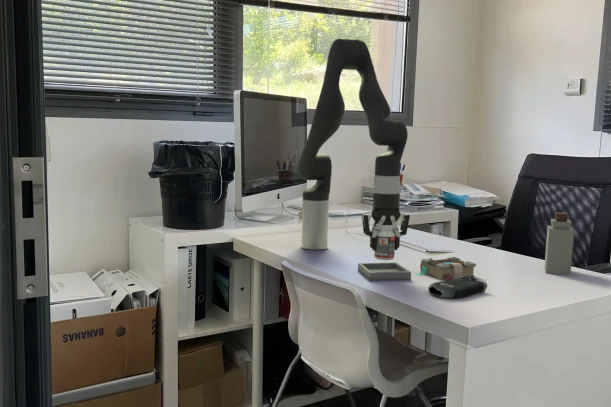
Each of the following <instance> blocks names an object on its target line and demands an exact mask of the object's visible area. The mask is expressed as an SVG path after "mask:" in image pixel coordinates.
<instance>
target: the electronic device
mask: <svg viewBox="0 0 611 407" xmlns="http://www.w3.org/2000/svg"><path fill="white" fill-rule="evenodd" d="M487 288H488V283H487V282H485V281H481V280H477V278H475V277H464V276H461V277H460V278H455V280H440V281H437V282H433V283H430V284H429V286H428V287H427V289H428V292H429V296H433V297H437V298H441V299H453V300H454V299H460V298H464V297H467V296H472V295H474V294H478V293H479V292H480V293H485V292H486V290H487ZM438 291H439V292H438ZM433 292H434V293H435V292H438V295H435V294H433Z"/></svg>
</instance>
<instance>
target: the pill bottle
mask: <svg viewBox="0 0 611 407" xmlns="http://www.w3.org/2000/svg"><path fill="white" fill-rule="evenodd" d="M393 229H394V228H393V225H382V226H381V228H380V230H379V231H378V233H377V235H376V238H377V245H376V250H375V251H374V254H373V255H374V259H376V260H378V261H379V260H381V261H391V260H394V259H395V253H396V252H395V251H396V250H395V233H394V232H393Z"/></svg>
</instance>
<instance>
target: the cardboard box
mask: <svg viewBox="0 0 611 407" xmlns="http://www.w3.org/2000/svg"><path fill="white" fill-rule="evenodd" d="M419 267H420V268H419V269H420V272H419V273H416V276H420V277H422V276H426V275H427V276H431V277H433V278H435V279H437V280H440V281H452V280H456V279H460V277H461V276H464V277H469V278H471V277H473V278H475V275H474V269H475V267H477V264H476V263H475V262H471V261H463V260H461V259H460V258H459V257H456V256H451V257H447V258H442V259H433V258H422V259H421V261H420V265H419Z"/></svg>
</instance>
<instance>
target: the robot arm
mask: <svg viewBox="0 0 611 407" xmlns="http://www.w3.org/2000/svg"><path fill="white" fill-rule="evenodd" d="M327 55H328V56H327V60H326V66H325V71H324V72H325V73H324V77H323V81H322V82H323V83H322V85H321V89H320V94H319V97H318V100H317V103H316V106H315V110H314V114H313V118H312V122H311V125H310V126H311V127H310V130H309V133H308V135H307V136H308V137H307V139H306V142H305V144H304V147H303V149H302V151H301V155H300V158H299V161H298V167H297V171H298V172H297V173H298V176H299V178H300V179H302V180H305V181H316V183H315V184H314V185H313V186H311V187H310V188H307V189H305V190H304V191H303V192H302V201H301V202H302V204H301V205H302V207H301V208H302V209H301V211H302V213H301V215H302V216H301V248H302V249H304V250H305V249H306V250H310V251H311V250H313V251H315V250H317V251H318V250H319V251H320V250H326V249H328V247H329V246H328V240H329V211H330V210H329V205H330V204H329V202H330V193H331V185H332V184H331V181H332V170H333V166H332V165H333V164H332V159H331V156H330V155H329V154H327V153H319V151H320V149H321V148H322V146H323V145H324V144H326V142H327V141H328V140H329V139H331V137H333V136H334V134H335V133H336V132H338V130H339V128H340V126H341V124H342V120H343V119H344V118H343V117H344V114H345V109H346V105H345V101H344V97H343V94H342V91H341V87H340V79H341V75H342V73H343V71H344V70H347V71H357V73H358V74H359V76H360V79H361V81H360V86H359V90H358V98H359V102H360V105H361V107H362V109H363V112H364V113H365V116H366V119H367V125H368V132H369V137H370V140H371V141H372V142H373V143H374V144H375V145H377V146H381V147H382V146H383V147H384V146H385V147H387V149H386V152H384V153H380V154H379V155H377V156H376V157H375V162H374V163H375V164H374V166H375V167H374V179H373V189H372V190H373V192H372V194H373V195H372V210H371V212H370V213H362V214H361V223H362V228H363V234H364V235H365V236H368V237H369V238H370V239H369V247H370V248H371V250H372V251H374V252H375V250H376V245H377V238H376V235H377V233H378V231H379V230H380V228H381V226H382V225H393V228H394V229H393V232H394V233H395V251H398V249H400V243H401V237H402V236H406V235H407V233H408V227H409V222H410V219H411V218H410V217H411V216H410V214H408V213H401V211H400V204H401V202H400V200H401V188H402V187H401V179H400V178H401V177H400V176H401V160H402V158H403V156H404V155H403V154H404V152H405V151H404V150H405V148H406V146H407V145H406V144H407V141H408V134H409V133H408V128H407V126H406V124H405V123H404V122H402V121H400V120H386V119H388V117H389V116H390V115H391V107H390V104H389V103H388V101H387V100H388V99H387V98H386V97H385V95H384V92H383V90H382V88H381V87H380V84H379V81H378V78H377V74H376V71H375V67H374V64H373V60H372V57H371V53H370V51H369V48H368V45H367V44H366V42H365V41H363V40H361V39H359V38H357V39H356V38H346V37H345V38H343V37H338V38H337V37H336V38H335V39H334V40H333V41H332V42H331V45H330V48H329V52H328V54H327ZM371 219H373V221H374V222H373V224H372V227H371V228H370V221H371ZM399 219H400V221H401V222H400V229H399V226H398V224H397V221H399Z"/></svg>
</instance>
